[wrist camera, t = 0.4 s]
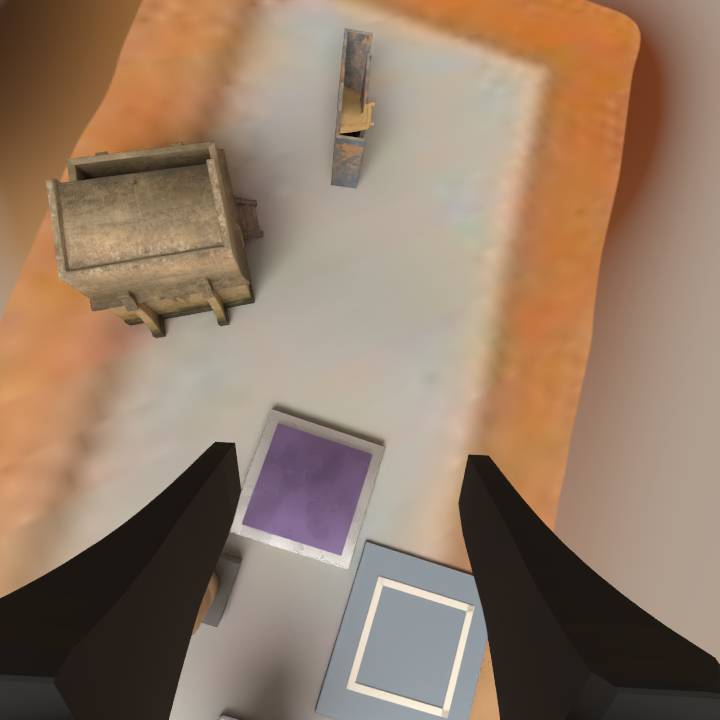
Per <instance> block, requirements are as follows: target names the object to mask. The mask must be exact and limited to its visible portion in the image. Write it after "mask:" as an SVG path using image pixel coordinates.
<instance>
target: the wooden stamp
mask: <svg viewBox="0 0 720 720" xmlns="http://www.w3.org/2000/svg"><path fill="white" fill-rule="evenodd" d="M241 561H242V559H240V558H237V557H234V556H230V555H227V554H224V553H221V555H220V557H219V559H218V562H217V564H216V567H215V569H214V572H213V574H212V577H211V579H210V582H209V584H208V587H207V589H206V592H205V595H204V597H203V600H202V603H201V606H200V609H199V612H198V615H197V619H196V622H195V625H194V629H193V632H192V635H193V634H194V633H195V632H196V631H197V629H198V628H199V626H200V624H201V623H205V624H208V625H211V626H215V627H217V626H218V624H219V622H220V620H221V617H222V615H223V612H224V609H225V606H226V603H227V600H228V598H229V595H230V592H231V589H232V586H233V584H234V581H235V578H236V575H237V572H238V570H239V567H240V564H241Z"/></svg>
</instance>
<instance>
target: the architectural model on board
mask: <svg viewBox="0 0 720 720" xmlns="http://www.w3.org/2000/svg"><path fill="white" fill-rule="evenodd" d="M372 34H373V33H369V32H363V31H357V30H351V29H346V28H345V31H344V42H343V52H342V63H341V73H340V84H339V95H338V107H337V119H336V132H335V144H334V156H333V169H332V181H331V185H335V186H343V187H350V188H356V185H357V180H358V175H359V170H360V166H361V161H362V156H363V151H364V146H365V139H364V138H363V137H364V131H365V130H366V129H369V126H370V125H373V126H374V122H373V123H371V111H372V106H375V103H376V102H372V103H369V104H367V99H368V84H369V69H370V59H371V54H370V47H371V41H372ZM355 131H357V132H356V137H350V136H343V135H340V133H348V132H355Z"/></svg>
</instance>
